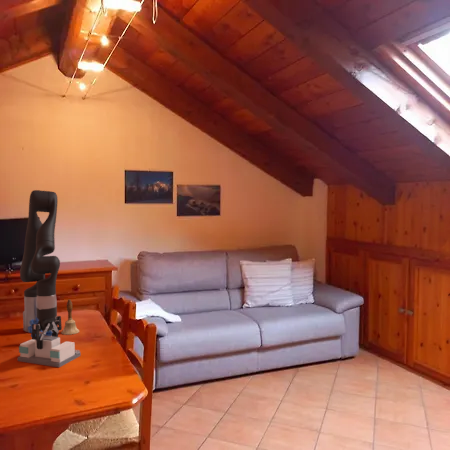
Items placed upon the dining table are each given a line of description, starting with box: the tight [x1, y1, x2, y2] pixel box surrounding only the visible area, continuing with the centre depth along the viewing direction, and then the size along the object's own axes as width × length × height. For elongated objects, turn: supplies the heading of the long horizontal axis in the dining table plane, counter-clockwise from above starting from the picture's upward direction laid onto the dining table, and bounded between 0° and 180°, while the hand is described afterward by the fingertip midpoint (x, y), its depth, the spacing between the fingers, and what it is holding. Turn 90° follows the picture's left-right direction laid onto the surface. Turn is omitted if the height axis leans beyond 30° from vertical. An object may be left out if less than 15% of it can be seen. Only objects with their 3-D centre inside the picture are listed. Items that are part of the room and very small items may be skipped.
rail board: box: [17, 338, 81, 368], centre depth 178 cm, size 20×13×6 cm, turn 72°
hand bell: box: [60, 299, 80, 336], centre depth 211 cm, size 8×8×16 cm
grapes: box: [28, 317, 53, 338], centre depth 196 cm, size 12×7×12 cm, turn 106°
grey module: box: [35, 335, 61, 359], centre depth 177 cm, size 8×5×7 cm, turn 72°
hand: (47, 345), depth 177 cm, fingers open, 8 cm apart
